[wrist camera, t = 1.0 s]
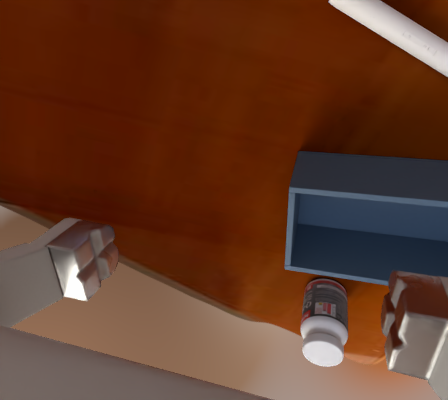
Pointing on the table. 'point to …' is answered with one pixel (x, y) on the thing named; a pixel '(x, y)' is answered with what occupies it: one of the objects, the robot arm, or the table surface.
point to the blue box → (367, 216)
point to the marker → (398, 30)
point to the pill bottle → (324, 322)
